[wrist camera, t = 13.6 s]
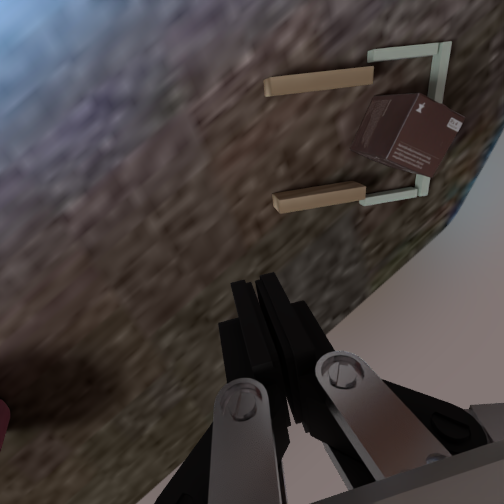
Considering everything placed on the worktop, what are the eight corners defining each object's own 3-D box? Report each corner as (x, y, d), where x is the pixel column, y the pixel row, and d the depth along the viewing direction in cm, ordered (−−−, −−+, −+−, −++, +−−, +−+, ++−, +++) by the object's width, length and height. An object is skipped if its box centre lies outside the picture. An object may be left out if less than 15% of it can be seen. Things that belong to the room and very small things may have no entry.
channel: (263, 79, 30) (270, 77, 27) (357, 69, 31) (373, 65, 28) (273, 205, 35) (280, 213, 33) (352, 192, 37) (365, 199, 34)
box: (347, 149, 34) (384, 158, 28) (372, 94, 32) (419, 90, 26) (388, 167, 36) (432, 179, 30) (414, 115, 34) (468, 117, 28)
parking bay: (367, 51, 30) (374, 49, 29) (443, 43, 31) (452, 41, 30) (359, 203, 37) (364, 205, 36) (420, 192, 38) (427, 195, 37)
